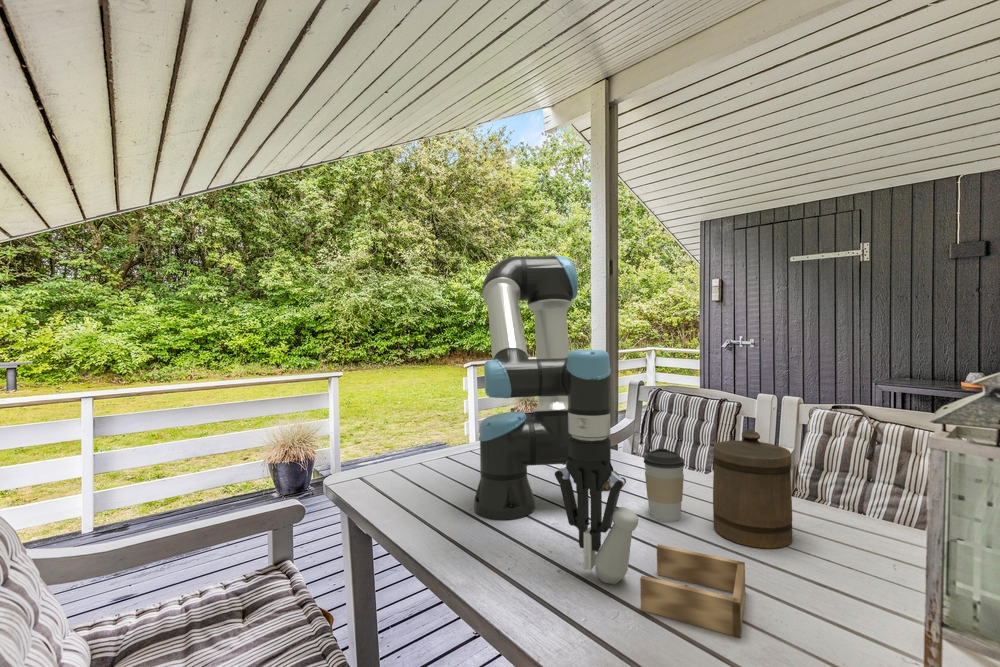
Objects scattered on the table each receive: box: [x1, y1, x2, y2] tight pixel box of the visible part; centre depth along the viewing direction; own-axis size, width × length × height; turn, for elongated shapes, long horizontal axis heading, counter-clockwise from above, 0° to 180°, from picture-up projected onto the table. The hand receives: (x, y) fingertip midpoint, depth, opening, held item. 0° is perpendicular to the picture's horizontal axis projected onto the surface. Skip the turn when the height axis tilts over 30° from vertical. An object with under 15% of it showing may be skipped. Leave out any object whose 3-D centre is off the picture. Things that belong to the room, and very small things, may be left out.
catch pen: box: [639, 544, 746, 638], centre depth 76 cm, size 14×13×5 cm
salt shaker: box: [594, 506, 640, 585], centre depth 81 cm, size 6×6×13 cm
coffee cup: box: [643, 448, 685, 523], centre depth 110 cm, size 9×9×15 cm
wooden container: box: [712, 429, 793, 549], centre depth 99 cm, size 15×15×22 cm
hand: (590, 566), depth 84 cm, fingers closed
